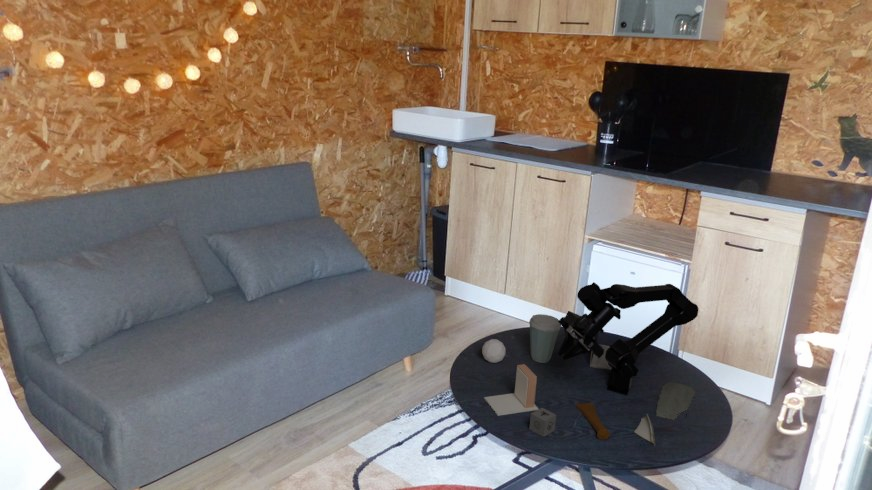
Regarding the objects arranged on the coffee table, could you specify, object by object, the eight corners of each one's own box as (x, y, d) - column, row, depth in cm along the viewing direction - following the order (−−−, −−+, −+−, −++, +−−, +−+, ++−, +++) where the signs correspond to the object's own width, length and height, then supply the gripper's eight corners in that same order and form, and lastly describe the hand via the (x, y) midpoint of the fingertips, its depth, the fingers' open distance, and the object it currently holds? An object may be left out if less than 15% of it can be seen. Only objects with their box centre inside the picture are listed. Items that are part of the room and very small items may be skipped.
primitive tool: (574, 405, 209) (576, 394, 208) (592, 404, 210) (593, 394, 209) (597, 441, 191) (598, 430, 190) (616, 441, 192) (618, 430, 191)
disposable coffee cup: (534, 348, 243) (539, 309, 239) (563, 358, 237) (567, 317, 233) (519, 359, 235) (523, 318, 230) (548, 369, 229) (553, 327, 224)
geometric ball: (498, 367, 234) (514, 352, 232) (485, 367, 228) (502, 351, 225) (485, 350, 238) (501, 334, 235) (473, 349, 232) (489, 333, 229)
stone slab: (694, 395, 221) (662, 384, 224) (697, 388, 220) (665, 376, 223) (686, 430, 201) (651, 417, 205) (689, 422, 200) (654, 409, 204)
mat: (523, 392, 213) (523, 391, 213) (538, 409, 204) (538, 408, 204) (484, 398, 209) (484, 397, 209) (497, 415, 200) (497, 414, 200)
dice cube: (554, 430, 194) (556, 414, 193) (543, 437, 191) (545, 421, 190) (540, 423, 198) (542, 407, 196) (529, 429, 195) (530, 413, 193)
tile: (521, 393, 212) (524, 364, 209) (533, 407, 205) (537, 376, 202) (513, 394, 211) (516, 365, 208) (525, 408, 204) (528, 377, 201)
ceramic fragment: (655, 447, 189) (657, 435, 188) (636, 445, 190) (638, 432, 189) (648, 421, 203) (650, 409, 202) (630, 418, 203) (631, 407, 202)
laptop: (627, 374, 229) (633, 338, 225) (589, 367, 233) (593, 331, 229) (631, 352, 245) (636, 317, 241) (595, 345, 249) (599, 311, 245)
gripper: (566, 291, 213) (531, 328, 212) (599, 316, 196) (561, 355, 196) (586, 313, 218) (551, 349, 217) (620, 338, 201) (582, 377, 201)
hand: (560, 357), depth 208 cm, fingers closed
